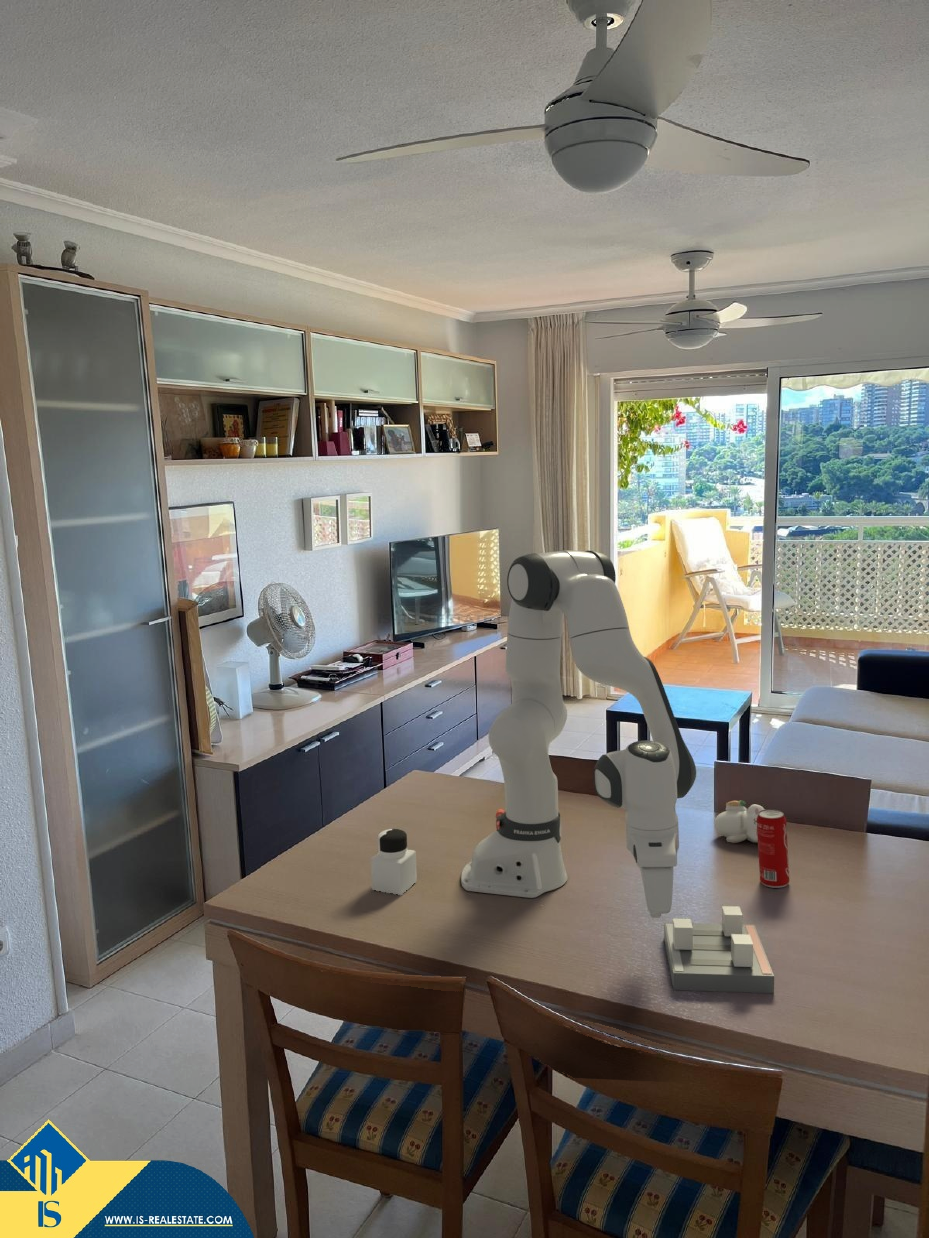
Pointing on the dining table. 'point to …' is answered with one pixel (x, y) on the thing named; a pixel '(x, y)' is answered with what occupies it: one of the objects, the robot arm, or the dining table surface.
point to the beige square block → (683, 934)
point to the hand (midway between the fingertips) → (655, 913)
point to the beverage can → (773, 848)
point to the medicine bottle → (393, 863)
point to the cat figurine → (738, 822)
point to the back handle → (731, 920)
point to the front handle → (742, 950)
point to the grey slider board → (717, 962)
